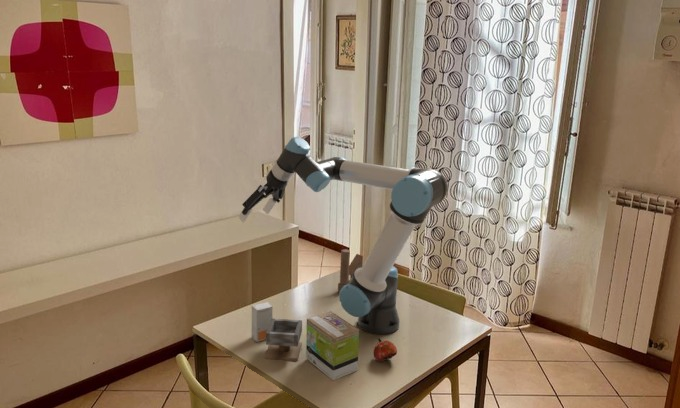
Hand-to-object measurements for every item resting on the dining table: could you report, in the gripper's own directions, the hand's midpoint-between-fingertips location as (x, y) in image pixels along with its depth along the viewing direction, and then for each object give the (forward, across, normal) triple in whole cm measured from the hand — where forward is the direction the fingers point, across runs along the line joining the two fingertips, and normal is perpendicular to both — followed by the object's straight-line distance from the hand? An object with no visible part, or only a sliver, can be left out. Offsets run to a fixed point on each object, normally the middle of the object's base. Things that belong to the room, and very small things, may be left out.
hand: (253, 215), depth 206 cm
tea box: (+1, +19, +61) cm, 64 cm away
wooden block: (+16, -34, +40) cm, 55 cm away
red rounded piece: (-6, +7, +71) cm, 72 cm away
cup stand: (+11, +21, +46) cm, 52 cm away
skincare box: (+18, +19, +37) cm, 45 cm away
